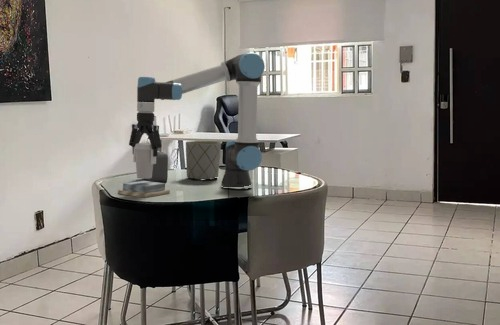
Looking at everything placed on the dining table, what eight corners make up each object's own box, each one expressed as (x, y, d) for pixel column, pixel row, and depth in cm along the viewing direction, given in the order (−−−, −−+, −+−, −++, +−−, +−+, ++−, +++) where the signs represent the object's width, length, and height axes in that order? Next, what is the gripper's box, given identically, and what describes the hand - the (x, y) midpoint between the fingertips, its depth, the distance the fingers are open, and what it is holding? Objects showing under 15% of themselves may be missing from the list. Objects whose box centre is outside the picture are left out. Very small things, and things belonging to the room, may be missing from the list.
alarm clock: (167, 182, 290) (168, 152, 288) (145, 182, 286) (145, 152, 284) (161, 178, 305) (161, 149, 304) (140, 178, 301) (140, 149, 300)
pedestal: (169, 193, 256) (169, 183, 255) (145, 197, 242) (145, 187, 241) (142, 189, 264) (142, 180, 263) (118, 193, 250) (118, 183, 250)
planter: (177, 178, 308) (178, 141, 306) (202, 175, 322) (203, 140, 320) (202, 182, 295) (203, 144, 293) (227, 179, 310) (228, 143, 308)
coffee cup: (135, 179, 246) (136, 144, 244) (131, 176, 255) (131, 143, 253) (157, 178, 250) (158, 144, 248) (152, 176, 258) (152, 143, 257)
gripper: (121, 111, 252) (120, 161, 254) (159, 113, 240) (158, 165, 243) (132, 111, 258) (131, 160, 260) (170, 113, 247) (169, 164, 249)
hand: (144, 162), depth 251 cm, fingers closed on coffee cup, 9 cm apart
